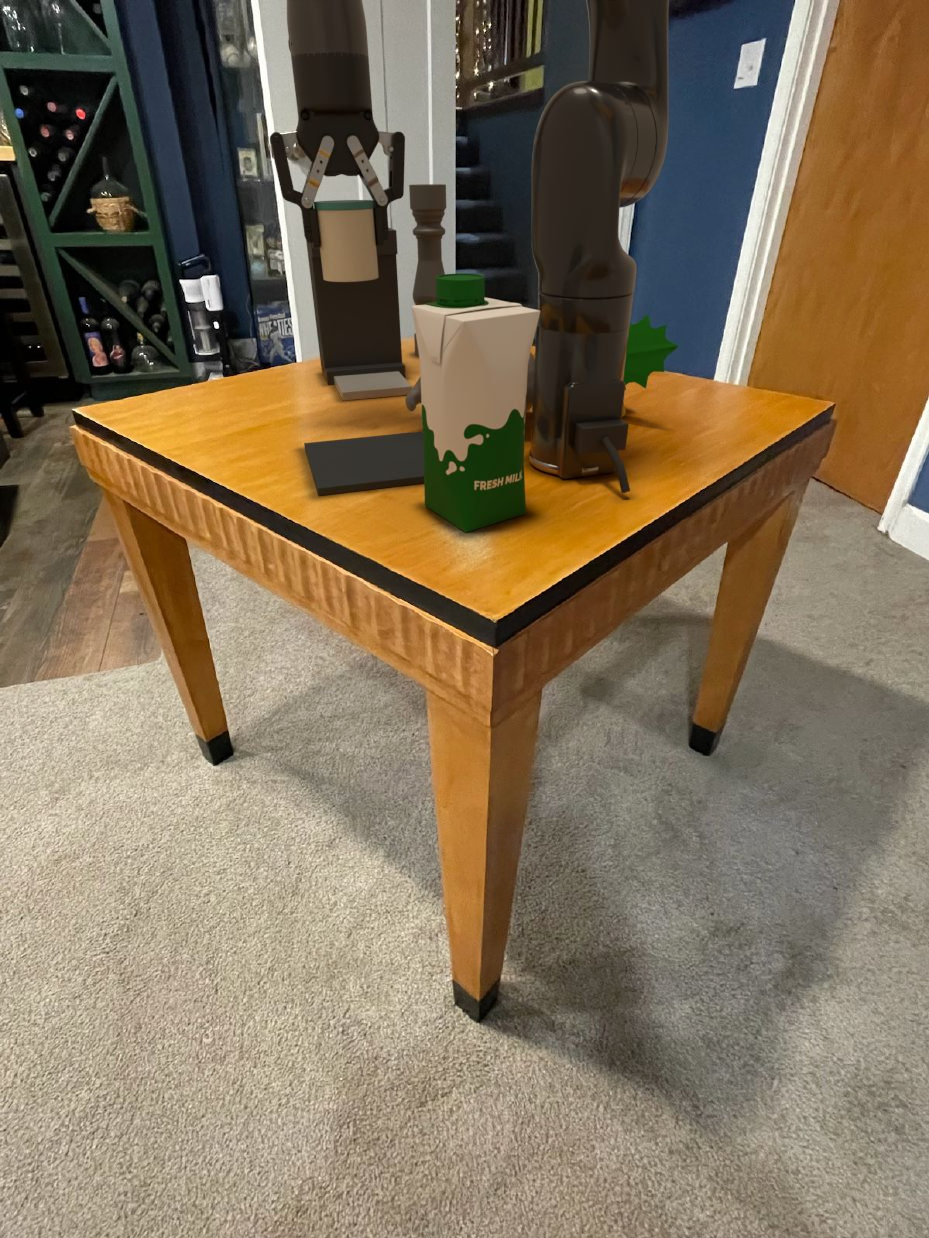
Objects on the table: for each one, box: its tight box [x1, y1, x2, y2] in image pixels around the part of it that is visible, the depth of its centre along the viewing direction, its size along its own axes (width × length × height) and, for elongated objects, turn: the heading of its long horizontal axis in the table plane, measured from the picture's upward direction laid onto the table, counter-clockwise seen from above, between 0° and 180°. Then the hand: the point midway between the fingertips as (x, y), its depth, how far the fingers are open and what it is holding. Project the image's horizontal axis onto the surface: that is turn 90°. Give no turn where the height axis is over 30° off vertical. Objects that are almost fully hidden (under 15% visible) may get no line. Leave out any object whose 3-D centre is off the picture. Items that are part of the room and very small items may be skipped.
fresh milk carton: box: [411, 273, 540, 533], centre depth 60 cm, size 9×9×20 cm
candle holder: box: [408, 183, 447, 358], centre depth 113 cm, size 6×6×25 cm
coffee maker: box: [305, 226, 413, 402], centre depth 99 cm, size 17×12×20 cm
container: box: [313, 199, 378, 282], centre depth 76 cm, size 6×6×8 cm
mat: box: [304, 431, 424, 496], centre depth 76 cm, size 14×14×1 cm
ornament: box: [533, 313, 679, 418], centre depth 89 cm, size 21×8×15 cm, turn 44°
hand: (348, 246), depth 76 cm, fingers closed on container, 6 cm apart
